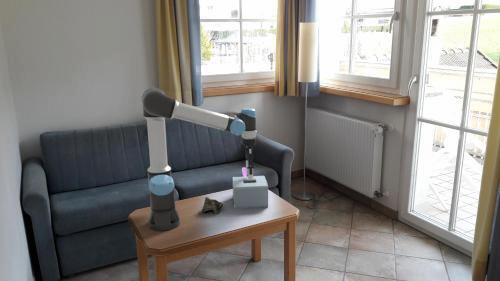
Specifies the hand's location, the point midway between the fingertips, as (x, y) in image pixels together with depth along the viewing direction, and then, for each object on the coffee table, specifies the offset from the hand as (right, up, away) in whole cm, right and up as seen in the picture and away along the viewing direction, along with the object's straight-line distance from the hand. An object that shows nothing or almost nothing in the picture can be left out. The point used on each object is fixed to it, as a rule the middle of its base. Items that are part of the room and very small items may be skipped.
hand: (249, 175), depth 222 cm
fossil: (-19, -18, -6) cm, 27 cm away
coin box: (0, -15, +4) cm, 15 cm away
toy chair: (-1, -12, +17) cm, 21 cm away
